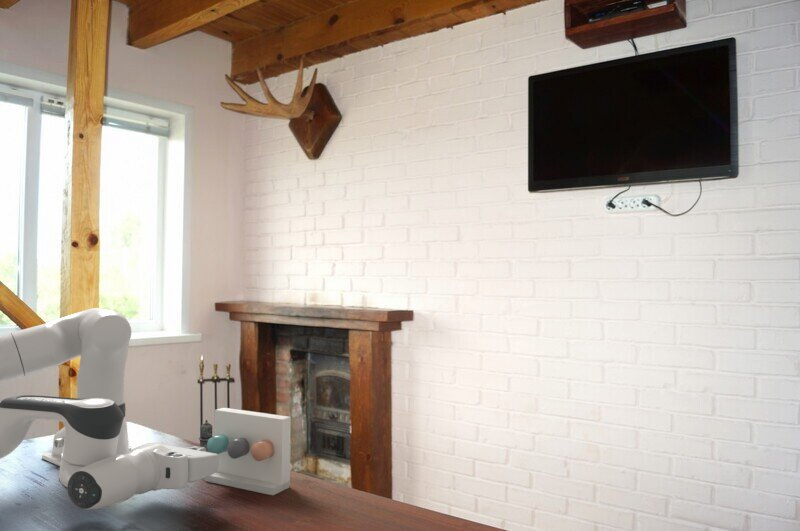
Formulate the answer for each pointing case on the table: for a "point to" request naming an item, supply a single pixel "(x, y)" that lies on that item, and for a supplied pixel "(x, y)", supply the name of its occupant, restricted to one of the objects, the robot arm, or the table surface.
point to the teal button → (218, 444)
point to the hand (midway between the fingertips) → (201, 450)
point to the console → (245, 469)
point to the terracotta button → (262, 450)
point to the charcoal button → (238, 448)
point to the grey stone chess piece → (205, 434)
